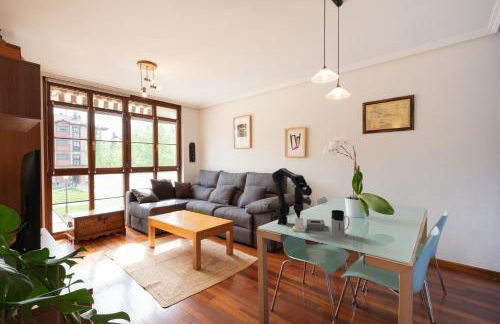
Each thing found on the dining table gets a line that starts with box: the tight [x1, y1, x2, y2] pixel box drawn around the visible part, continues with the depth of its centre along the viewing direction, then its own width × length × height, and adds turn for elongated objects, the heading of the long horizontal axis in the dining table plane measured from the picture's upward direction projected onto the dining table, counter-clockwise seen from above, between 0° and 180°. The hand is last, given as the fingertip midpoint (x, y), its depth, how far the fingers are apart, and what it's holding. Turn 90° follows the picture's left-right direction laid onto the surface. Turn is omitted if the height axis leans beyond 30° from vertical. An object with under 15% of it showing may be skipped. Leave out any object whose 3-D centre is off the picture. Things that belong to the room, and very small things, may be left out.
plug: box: [294, 215, 304, 229], centre depth 161 cm, size 5×4×9 cm
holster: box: [292, 225, 306, 233], centre depth 161 cm, size 8×7×2 cm
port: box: [306, 218, 326, 231], centre depth 166 cm, size 12×12×5 cm
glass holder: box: [330, 209, 351, 238], centre depth 148 cm, size 9×14×15 cm, turn 20°
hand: (298, 216), depth 161 cm, fingers open, 9 cm apart
